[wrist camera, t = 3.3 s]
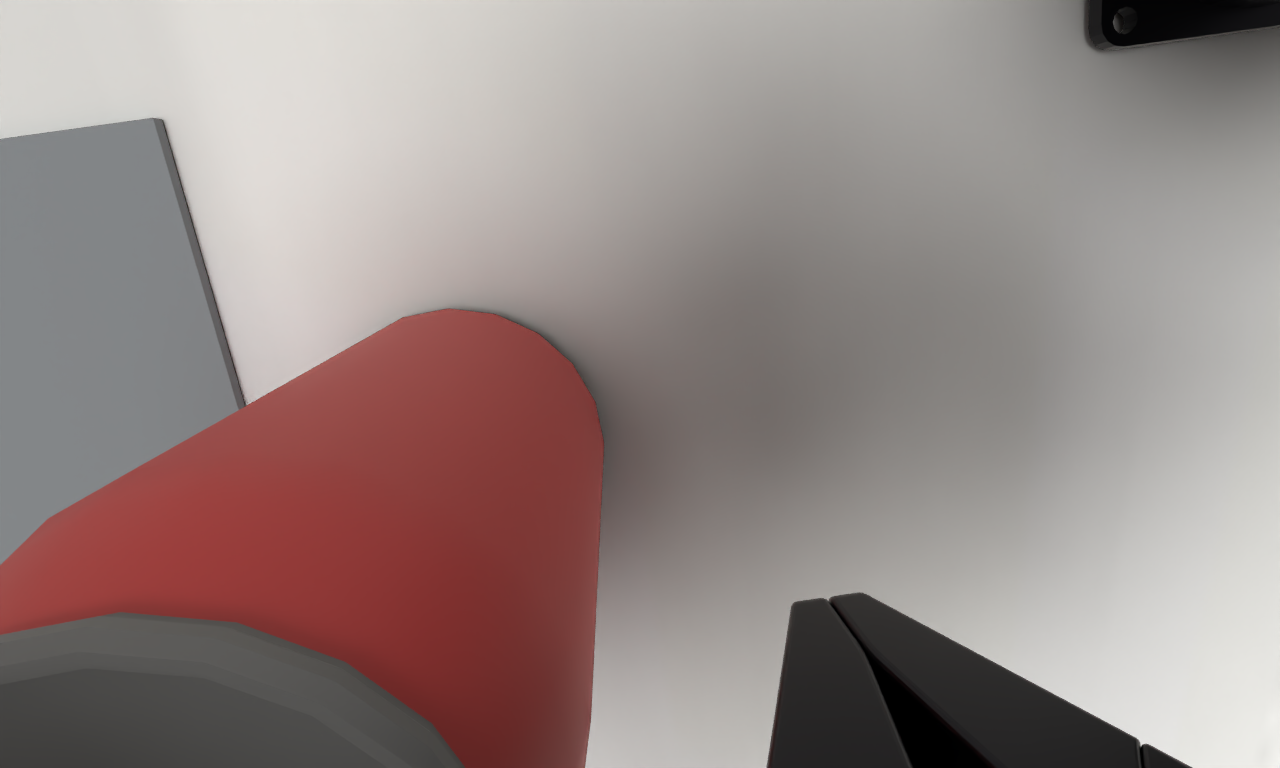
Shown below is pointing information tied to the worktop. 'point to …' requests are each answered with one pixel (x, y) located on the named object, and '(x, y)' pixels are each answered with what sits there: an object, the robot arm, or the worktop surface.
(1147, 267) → the worktop surface
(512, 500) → the beer can
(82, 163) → the mat
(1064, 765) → the robot arm
